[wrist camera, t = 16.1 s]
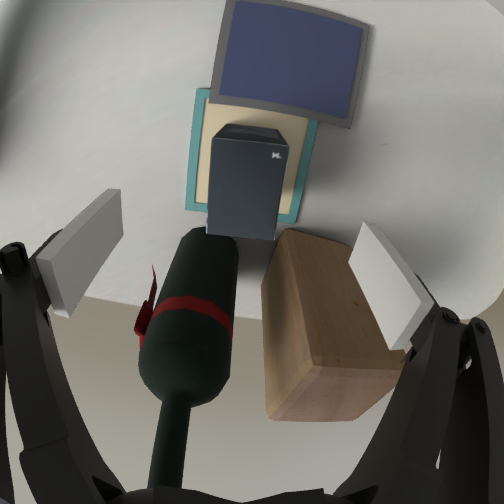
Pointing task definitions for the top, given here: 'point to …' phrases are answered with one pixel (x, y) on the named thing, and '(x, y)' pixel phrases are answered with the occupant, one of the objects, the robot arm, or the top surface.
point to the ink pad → (289, 60)
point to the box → (246, 181)
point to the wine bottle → (187, 342)
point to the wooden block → (320, 335)
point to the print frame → (216, 116)
